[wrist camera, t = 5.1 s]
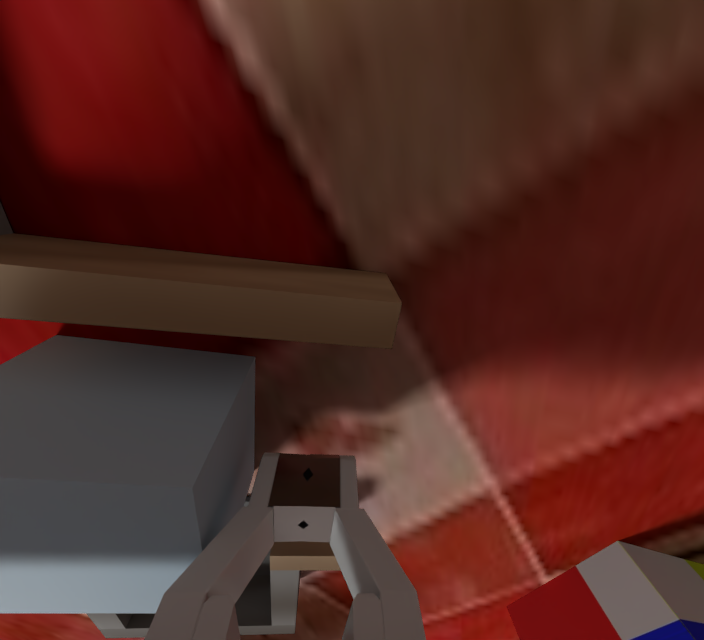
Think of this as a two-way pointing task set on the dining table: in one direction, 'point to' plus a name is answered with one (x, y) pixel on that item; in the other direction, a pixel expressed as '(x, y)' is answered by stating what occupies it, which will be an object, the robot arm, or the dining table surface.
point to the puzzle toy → (617, 599)
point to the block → (116, 470)
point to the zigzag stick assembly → (203, 318)
